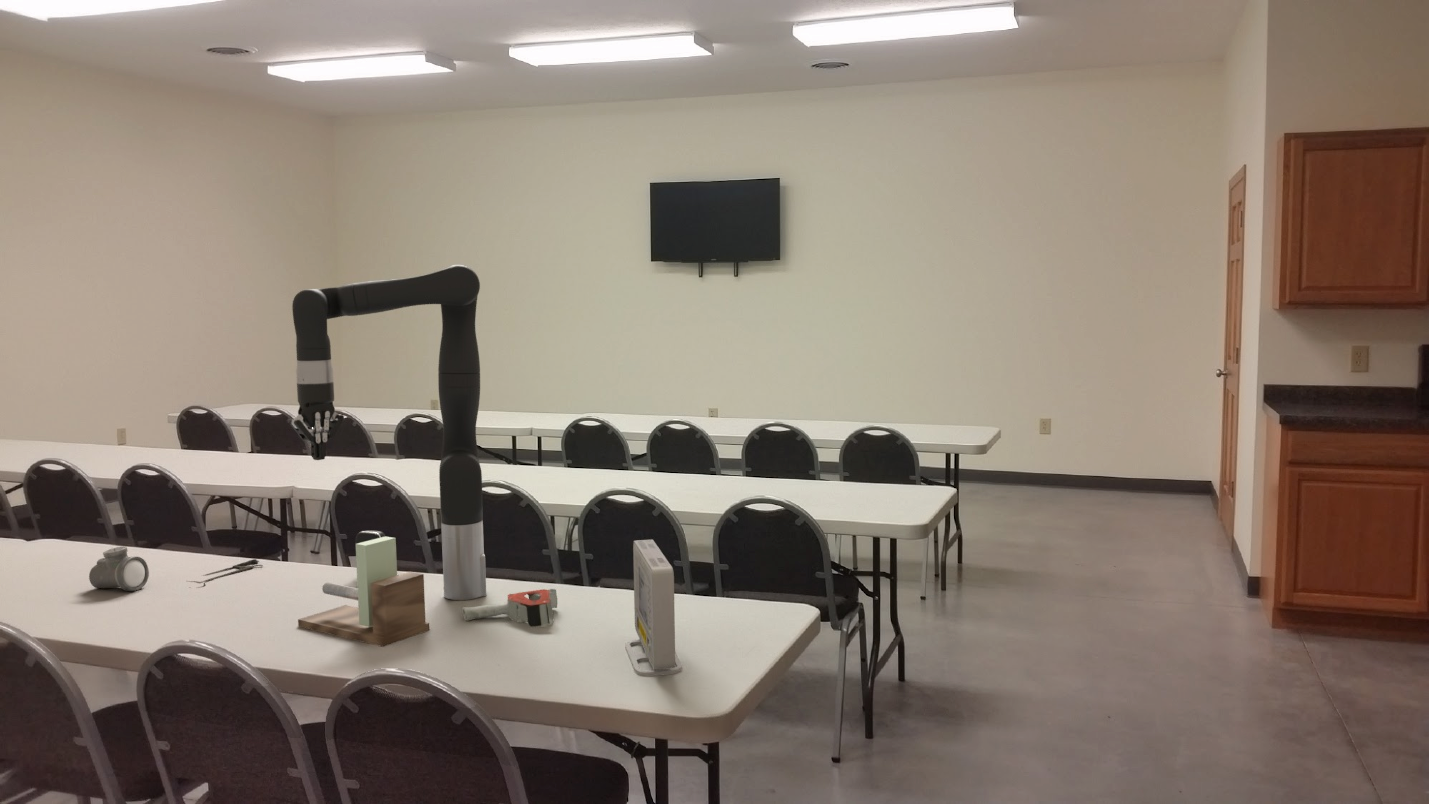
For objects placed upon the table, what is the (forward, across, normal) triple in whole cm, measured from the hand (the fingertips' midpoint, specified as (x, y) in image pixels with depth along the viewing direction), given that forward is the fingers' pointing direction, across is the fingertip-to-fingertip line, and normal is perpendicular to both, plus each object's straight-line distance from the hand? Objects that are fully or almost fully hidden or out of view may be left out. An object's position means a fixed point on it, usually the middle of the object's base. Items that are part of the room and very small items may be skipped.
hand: (319, 459), depth 232 cm
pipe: (+27, -7, -20) cm, 35 cm away
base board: (+33, -7, -20) cm, 39 cm away
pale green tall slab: (+31, -7, -25) cm, 40 cm away
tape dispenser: (+34, +15, -43) cm, 57 cm away
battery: (+33, +22, +11) cm, 42 cm away
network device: (+33, +9, -83) cm, 90 cm away
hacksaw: (+34, +5, +45) cm, 57 cm away
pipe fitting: (+33, -16, +56) cm, 67 cm away
